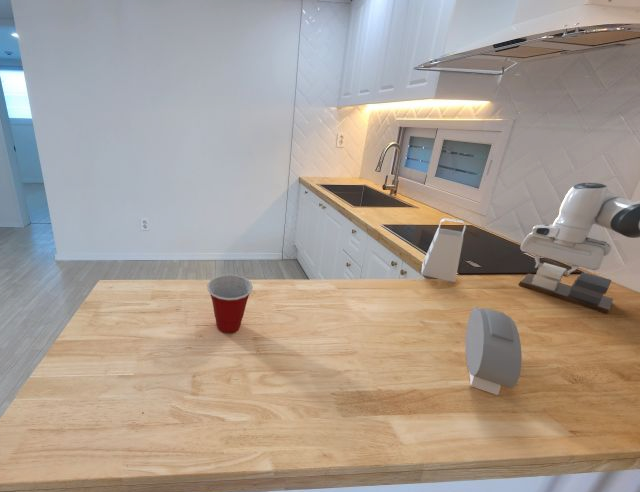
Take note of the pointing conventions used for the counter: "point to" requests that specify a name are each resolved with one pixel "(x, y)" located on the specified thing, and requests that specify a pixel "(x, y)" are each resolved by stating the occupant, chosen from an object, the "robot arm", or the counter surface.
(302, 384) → the counter surface
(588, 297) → the grey stack
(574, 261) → the robot arm
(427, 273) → the grater
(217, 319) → the plastic cup
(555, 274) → the white book
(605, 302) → the shelf plank
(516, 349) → the alarm clock
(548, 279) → the white stack
